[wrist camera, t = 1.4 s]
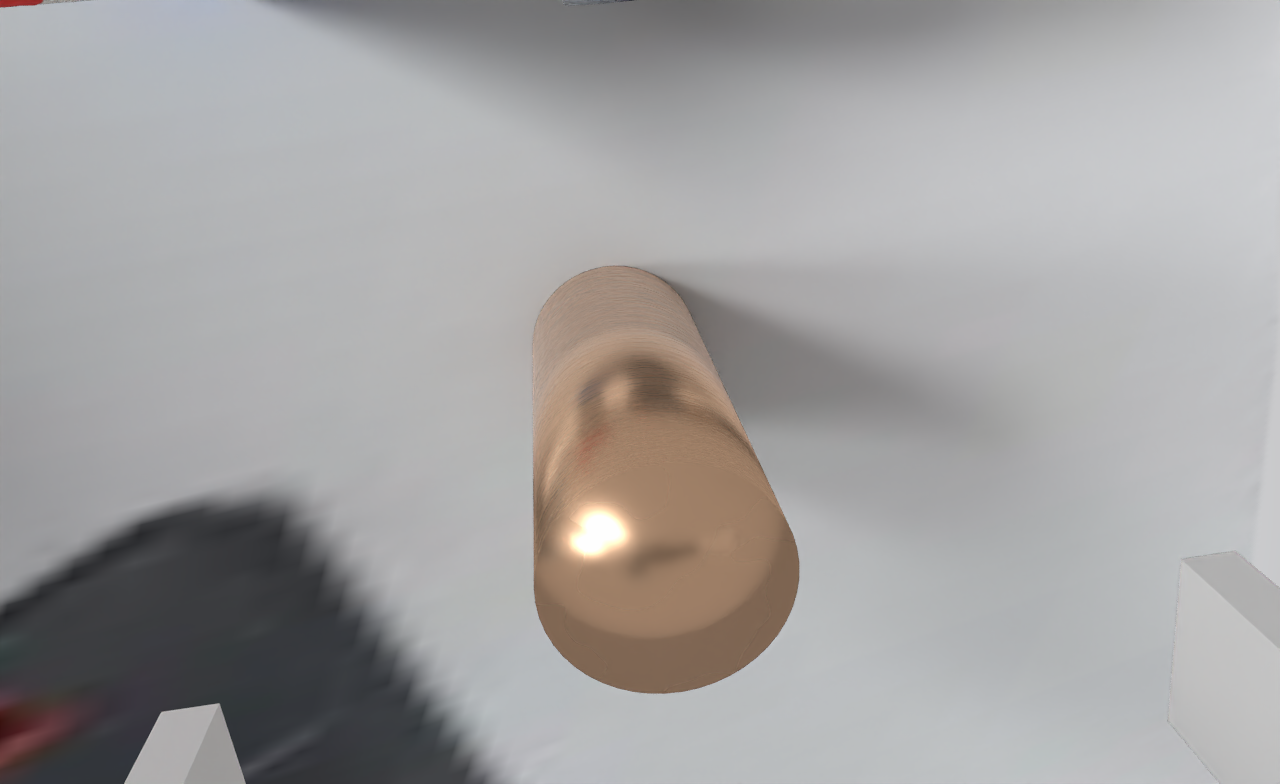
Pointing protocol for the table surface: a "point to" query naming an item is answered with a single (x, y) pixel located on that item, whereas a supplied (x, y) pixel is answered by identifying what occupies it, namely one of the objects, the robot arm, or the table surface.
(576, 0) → the valve body
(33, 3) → the ink box
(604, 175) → the table surface
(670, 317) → the pipe stub
